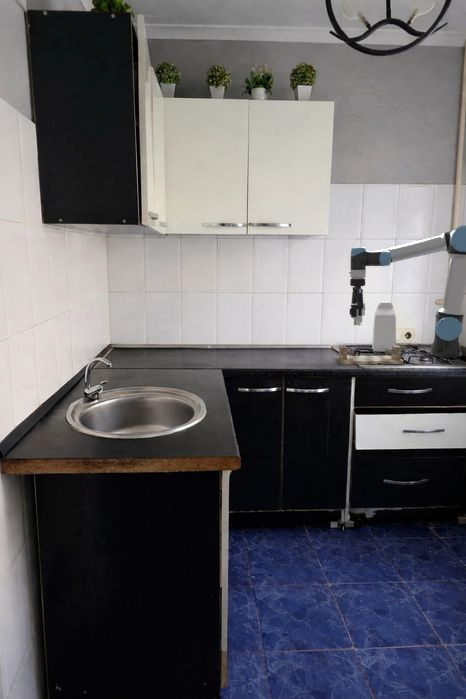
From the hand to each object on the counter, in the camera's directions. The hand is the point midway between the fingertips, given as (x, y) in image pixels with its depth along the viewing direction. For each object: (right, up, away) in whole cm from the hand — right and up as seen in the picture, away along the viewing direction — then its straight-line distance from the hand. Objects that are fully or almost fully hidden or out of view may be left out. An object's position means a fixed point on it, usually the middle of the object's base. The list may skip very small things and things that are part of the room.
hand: (356, 320), depth 264 cm
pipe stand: (+3, -21, -11) cm, 24 cm away
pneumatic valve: (0, -3, +1) cm, 3 cm away
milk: (+19, -15, +17) cm, 29 cm away
